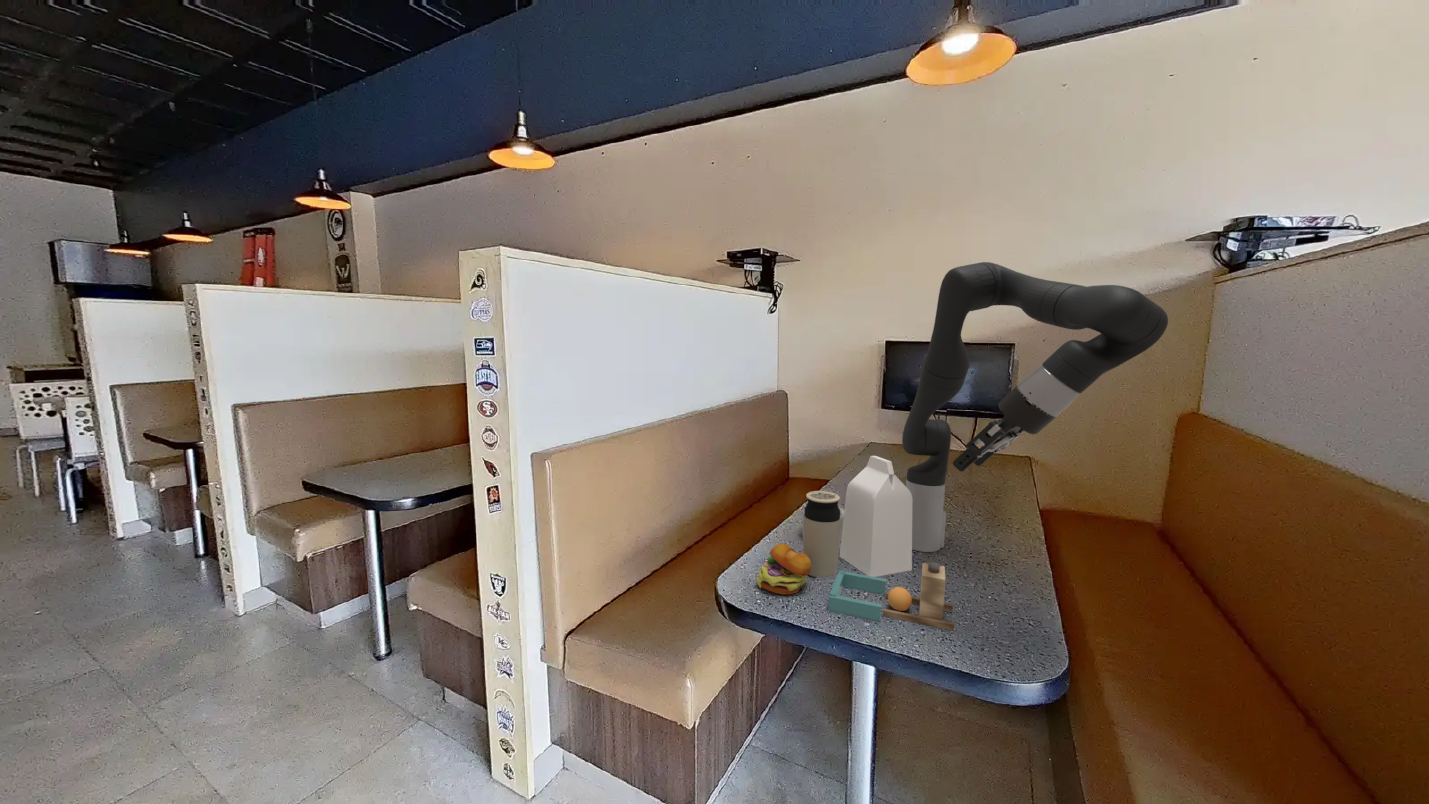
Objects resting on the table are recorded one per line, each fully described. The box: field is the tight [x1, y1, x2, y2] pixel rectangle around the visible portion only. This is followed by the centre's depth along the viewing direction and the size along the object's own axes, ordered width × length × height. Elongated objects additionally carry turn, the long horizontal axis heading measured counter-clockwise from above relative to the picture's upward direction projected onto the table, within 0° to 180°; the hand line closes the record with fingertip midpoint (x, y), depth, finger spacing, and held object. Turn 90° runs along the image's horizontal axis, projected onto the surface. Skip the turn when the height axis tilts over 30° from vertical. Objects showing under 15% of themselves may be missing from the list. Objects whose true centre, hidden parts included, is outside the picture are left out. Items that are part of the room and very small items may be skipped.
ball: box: [887, 586, 912, 612], centre depth 102 cm, size 4×4×4 cm
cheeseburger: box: [756, 543, 811, 595], centre depth 112 cm, size 10×11×10 cm
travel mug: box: [802, 490, 841, 578], centre depth 118 cm, size 8×8×18 cm
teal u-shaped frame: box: [827, 570, 887, 622], centre depth 105 cm, size 10×12×4 cm
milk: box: [839, 455, 913, 578], centre depth 121 cm, size 12×12×26 cm
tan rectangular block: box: [918, 561, 947, 621], centre depth 99 cm, size 4×6×10 cm, turn 158°
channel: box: [882, 591, 955, 632], centre depth 101 cm, size 12×8×1 cm, turn 68°
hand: (965, 465), depth 92 cm, fingers open, 8 cm apart
